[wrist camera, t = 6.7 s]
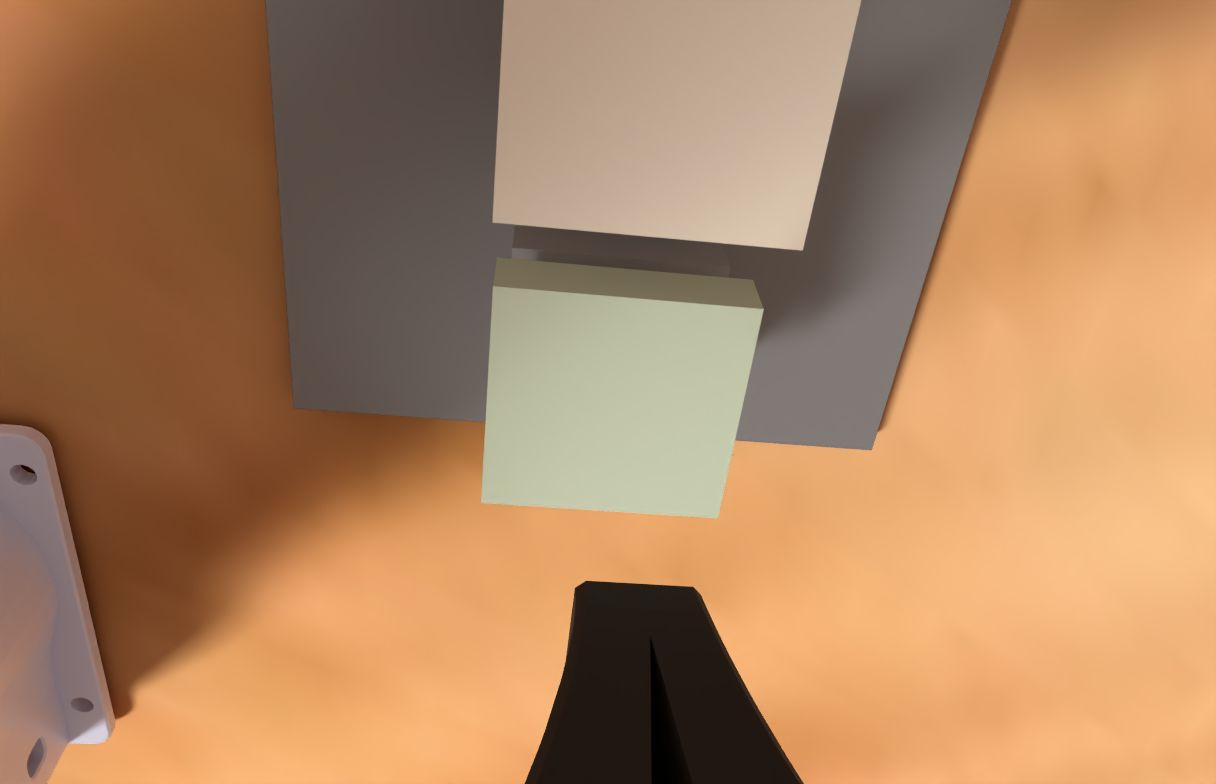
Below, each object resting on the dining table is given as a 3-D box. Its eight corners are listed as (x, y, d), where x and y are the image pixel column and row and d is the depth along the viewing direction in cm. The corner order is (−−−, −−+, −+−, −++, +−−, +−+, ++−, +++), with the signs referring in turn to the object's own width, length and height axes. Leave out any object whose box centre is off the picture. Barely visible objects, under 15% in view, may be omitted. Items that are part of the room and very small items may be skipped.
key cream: (758, 160, 16) (802, 250, 13) (506, 135, 15) (491, 222, 12) (813, -120, 14) (883, -91, 11) (524, -156, 13) (511, -137, 10)
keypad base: (866, 439, 21) (898, 510, 19) (298, 397, 20) (267, 467, 18) (1210, -682, 12) (1338, -773, 10) (213, -865, 11) (135, -1008, 9)
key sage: (695, 405, 20) (718, 518, 17) (494, 390, 19) (480, 502, 16) (730, 218, 17) (763, 308, 14) (506, 198, 17) (493, 286, 14)
